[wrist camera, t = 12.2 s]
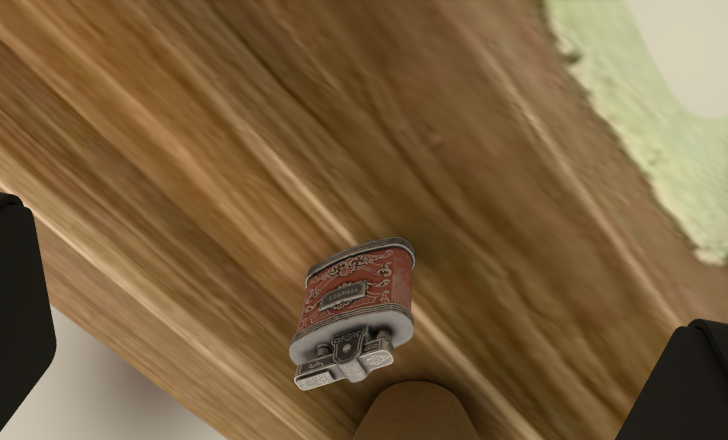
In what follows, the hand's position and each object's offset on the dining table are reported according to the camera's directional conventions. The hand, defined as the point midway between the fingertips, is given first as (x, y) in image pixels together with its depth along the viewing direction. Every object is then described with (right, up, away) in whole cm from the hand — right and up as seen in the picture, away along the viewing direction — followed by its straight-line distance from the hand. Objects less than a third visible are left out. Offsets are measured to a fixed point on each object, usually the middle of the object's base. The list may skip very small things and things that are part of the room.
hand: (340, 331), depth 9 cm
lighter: (0, -1, +34) cm, 34 cm away
